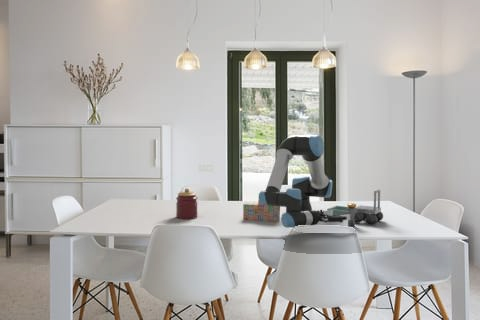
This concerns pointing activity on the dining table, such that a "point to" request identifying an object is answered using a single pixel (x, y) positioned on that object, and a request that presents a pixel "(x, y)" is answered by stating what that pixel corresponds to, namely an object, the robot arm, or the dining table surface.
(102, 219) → the dining table surface
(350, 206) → the stop pin
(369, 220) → the trolley
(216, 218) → the dining table surface
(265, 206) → the stack of blocks
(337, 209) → the tray
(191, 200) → the canister
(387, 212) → the dining table surface
